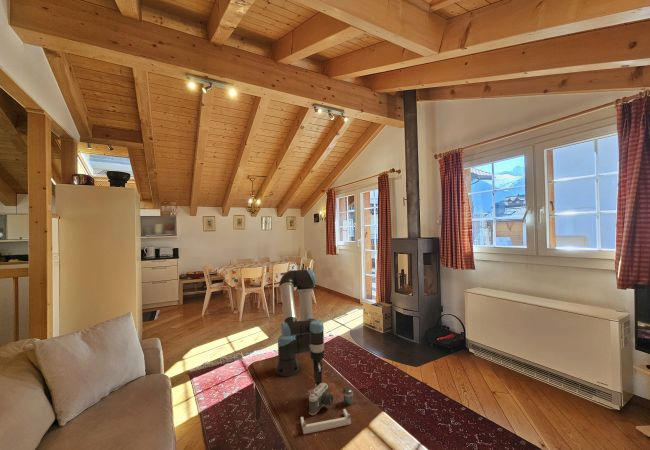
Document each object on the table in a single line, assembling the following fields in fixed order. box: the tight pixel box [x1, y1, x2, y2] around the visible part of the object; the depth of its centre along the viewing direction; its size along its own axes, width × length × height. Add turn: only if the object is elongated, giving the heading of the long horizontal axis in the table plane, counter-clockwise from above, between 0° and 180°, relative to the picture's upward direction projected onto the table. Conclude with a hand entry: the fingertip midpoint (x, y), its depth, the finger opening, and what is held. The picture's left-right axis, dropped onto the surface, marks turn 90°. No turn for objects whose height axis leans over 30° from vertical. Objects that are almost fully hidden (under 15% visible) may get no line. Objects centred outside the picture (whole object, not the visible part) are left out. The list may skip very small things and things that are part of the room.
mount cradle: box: [300, 408, 352, 435], centre depth 132 cm, size 8×22×4 cm, turn 104°
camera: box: [308, 381, 334, 416], centre depth 144 cm, size 9×16×10 cm, turn 151°
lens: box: [342, 387, 354, 407], centre depth 147 cm, size 5×5×7 cm
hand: (318, 393), depth 153 cm, fingers closed
